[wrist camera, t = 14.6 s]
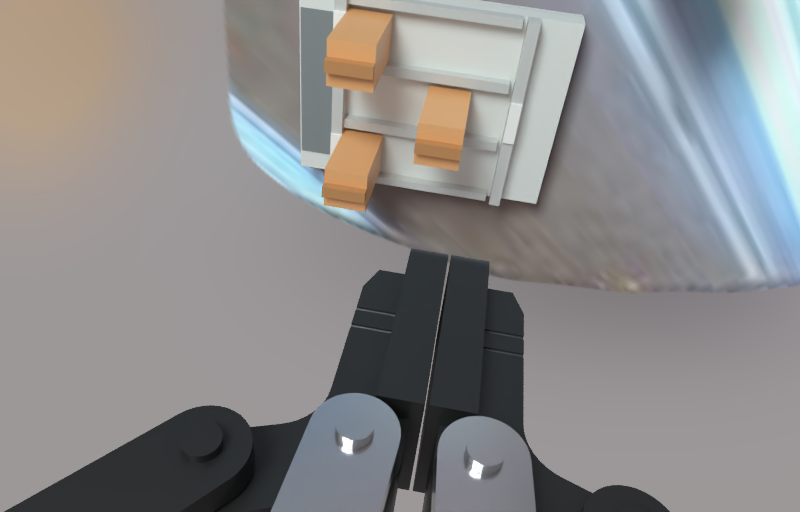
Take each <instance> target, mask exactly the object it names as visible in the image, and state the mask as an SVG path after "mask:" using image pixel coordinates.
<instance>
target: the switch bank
mask: <svg viewBox="0 0 800 512" xmlns="http://www.w3.org/2000/svg"><path fill="white" fill-rule="evenodd" d="M299 6H300V103H301V165H302V166H308V167H314V168H320V169H325V167H326V165H327V163H328V161H329V159H330V157H331V155H332V153H333V151H334V149H335V147H336V145H337V143H338V141H339V139H340V137H341V135H342V133H343V131H344V129H347V130H353V131H359V132H366V133H372V134H378V135H383V144H382V156H381V168H380V172H379V175H378V178H377V180H376V183H378V184H384V185H390V186H396V187H402V188H408V189H415V190H421V191H427V192H433V193H439V194H445V195H451V196H457V197H463V198H469V199H475V200H482V201H485V199H486V196H489V205H495V206H499V204H500V200H501V198H503V199H509V200H515V201H522V202H528V203H534V204H536V202H537V199H538V195H539V192H540V188H541V184H542V181H543V177H544V173H545V170H546V166H547V163H548V159H549V155H550V152H551V148H552V145H553V141H554V137H555V134H556V130H557V126H558V123H559V119H560V116H561V112H562V108H563V105H564V101H565V97H566V94H567V90H568V87H569V83H570V79H571V76H572V72H573V69H574V65H575V61H576V58H577V54H578V50H579V47H580V43H581V40H582V36H583V32H584V29H585V25H586V24H585V20H584V16H583V15H579V14H572V13H565V12H558V11H551V10H544V9H537V8H530V7H523V6H516V5H509V4H502V3H496V2H489V1H482V0H299ZM349 8H355V9H362V10H368V11H375V12H382V13H389V14H393V23H392V35H391V47H390V58H389V60H388V63H387V65H386V67H385V69H384V71H383V73H382V75H381V77H380V80H379V82H378V84H377V86H376V88H375V90H374V92H373V93H369V92H362V91H356V90H349V89H343V88H336V87H330V86H326V73H324V59H325V58H326V56H327V37H328V36H329V34H330V33H331V32H332V30H333V29H334V28H335V26H336V25H337V23H338V22H339V21H340V19H341V18H342V17H343V15H344V14H345V13H346V11H347V10H348V9H349ZM429 85H433V86H440V87H446V88H453V89H459V90H466V91H472V92H471V98H470V104H469V110H468V116H467V122H466V128H465V134H464V140H463V145H462V151H461V157H460V163H459V168H458V171H455V170H449V169H443V168H436V167H430V166H424V165H418V164H413V162H414V147H415V141H416V137H417V128H418V122H419V118H420V115H421V112H422V108H423V105H424V102H425V98H426V95H427V92H428V88H429Z"/></svg>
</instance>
